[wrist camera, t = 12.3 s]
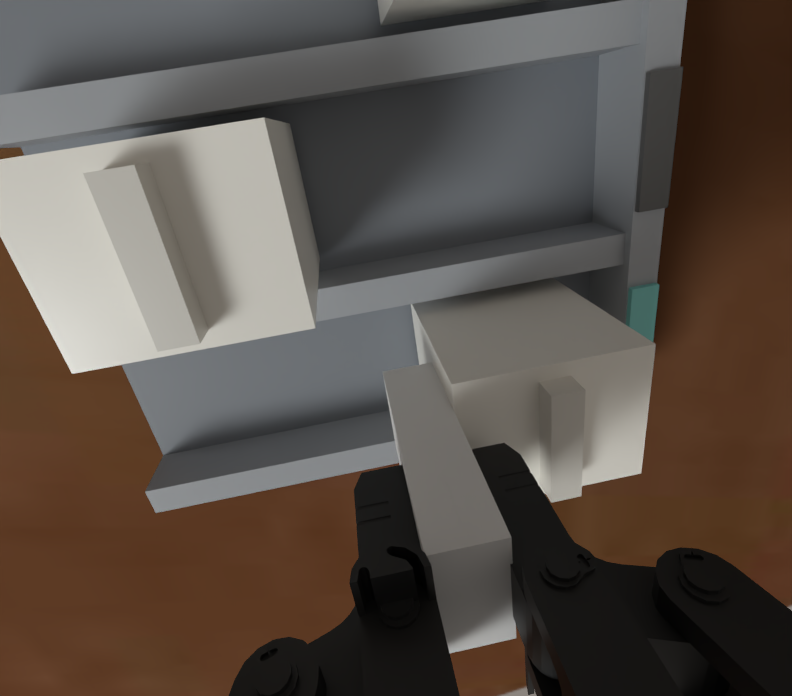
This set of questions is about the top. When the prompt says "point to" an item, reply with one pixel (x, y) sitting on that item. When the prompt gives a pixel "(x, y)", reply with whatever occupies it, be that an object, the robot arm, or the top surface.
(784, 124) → the top surface
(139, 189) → the white ridged block
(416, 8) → the white rectangular block
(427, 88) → the switch board
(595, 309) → the white block with handle
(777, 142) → the top surface
